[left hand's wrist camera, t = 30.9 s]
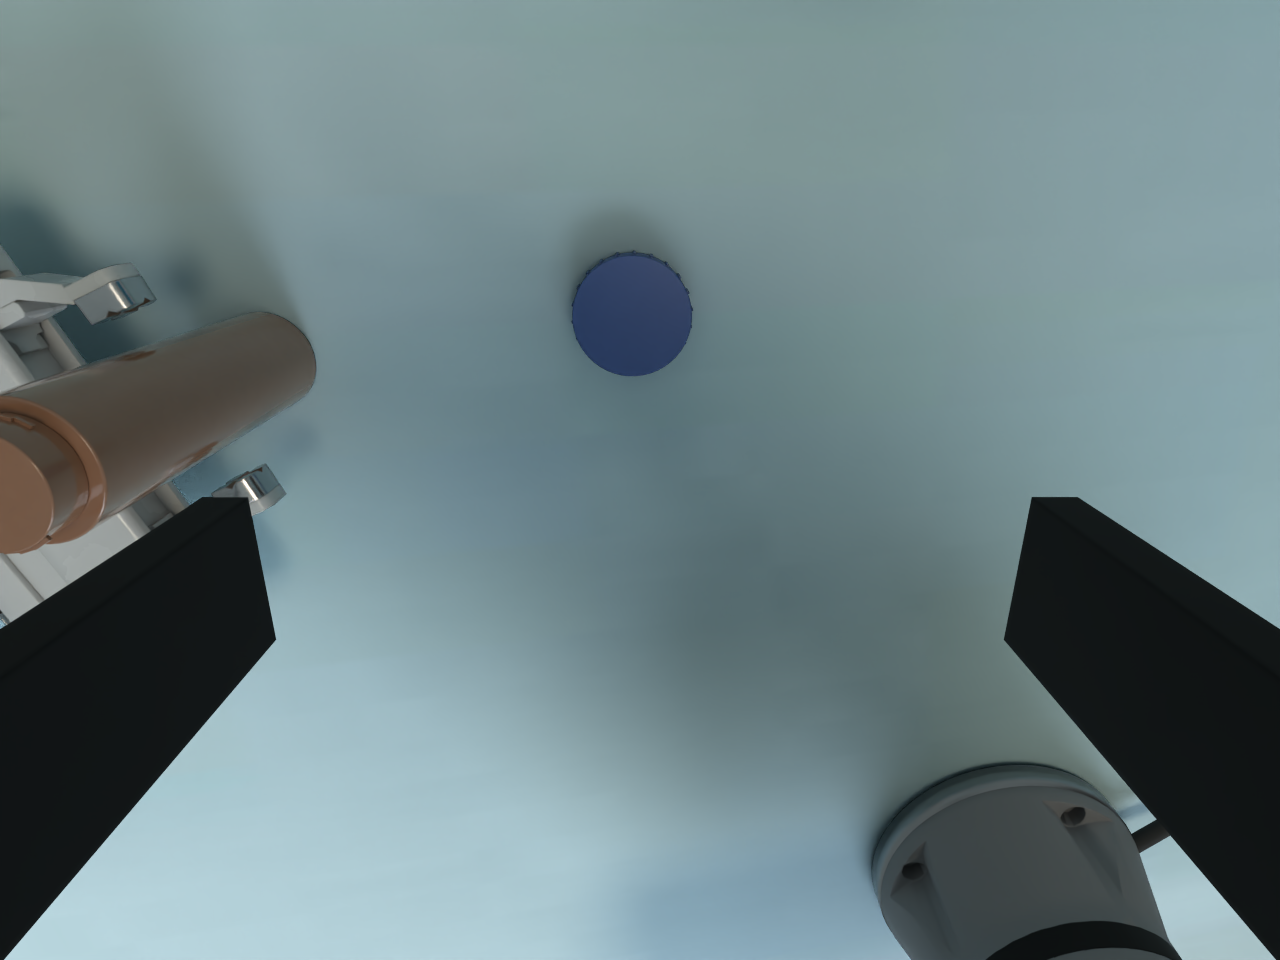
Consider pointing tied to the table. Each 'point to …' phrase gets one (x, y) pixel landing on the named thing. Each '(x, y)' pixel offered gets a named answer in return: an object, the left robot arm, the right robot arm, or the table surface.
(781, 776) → the table surface
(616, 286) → the lid
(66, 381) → the jar
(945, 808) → the left robot arm
